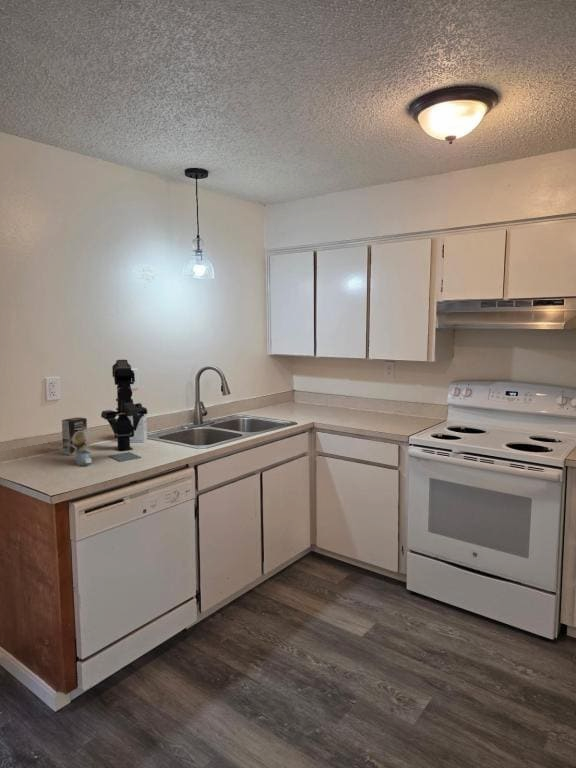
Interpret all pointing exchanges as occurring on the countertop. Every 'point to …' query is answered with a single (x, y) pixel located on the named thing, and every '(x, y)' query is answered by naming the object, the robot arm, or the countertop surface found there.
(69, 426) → the coffee box
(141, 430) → the supplement box
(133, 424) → the robot arm
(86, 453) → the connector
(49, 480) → the countertop surface
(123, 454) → the mat
